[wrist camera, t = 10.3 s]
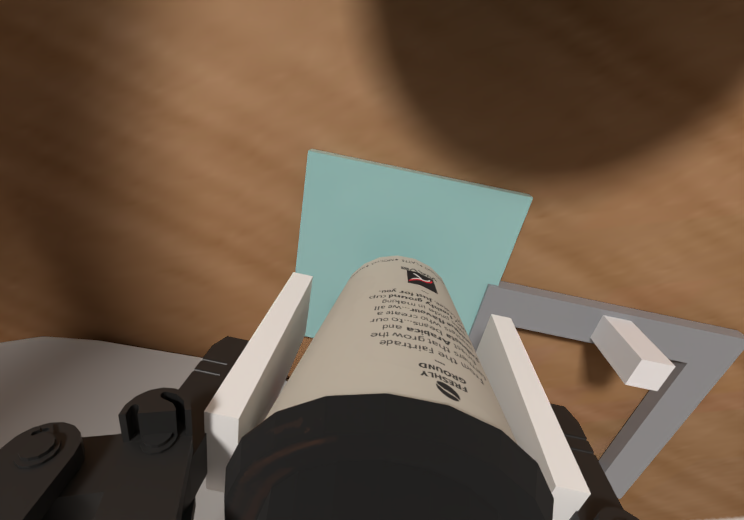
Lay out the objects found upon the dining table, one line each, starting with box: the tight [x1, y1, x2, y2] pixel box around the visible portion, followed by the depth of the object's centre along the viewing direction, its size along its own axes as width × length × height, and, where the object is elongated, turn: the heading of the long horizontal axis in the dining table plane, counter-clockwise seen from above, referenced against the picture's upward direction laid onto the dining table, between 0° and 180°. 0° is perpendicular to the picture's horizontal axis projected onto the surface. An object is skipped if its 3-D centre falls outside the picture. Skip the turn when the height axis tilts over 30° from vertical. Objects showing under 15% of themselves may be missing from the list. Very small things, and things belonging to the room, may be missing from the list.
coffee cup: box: [224, 255, 554, 520], centre depth 11 cm, size 7×7×10 cm
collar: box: [468, 281, 744, 499], centre depth 19 cm, size 13×13×4 cm
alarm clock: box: [0, 336, 287, 520], centre depth 18 cm, size 21×10×13 cm, turn 82°
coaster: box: [295, 149, 533, 338], centre depth 18 cm, size 10×10×1 cm
